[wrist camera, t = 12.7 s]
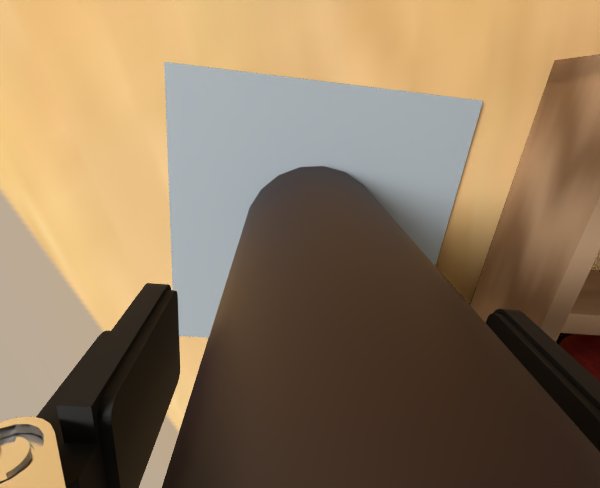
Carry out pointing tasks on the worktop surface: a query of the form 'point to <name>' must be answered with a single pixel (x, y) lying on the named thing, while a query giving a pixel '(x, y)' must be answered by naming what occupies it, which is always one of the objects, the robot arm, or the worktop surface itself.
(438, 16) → the worktop surface
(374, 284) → the vinegar
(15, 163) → the worktop surface
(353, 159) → the mat
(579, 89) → the rack
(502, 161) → the worktop surface
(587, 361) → the onion
